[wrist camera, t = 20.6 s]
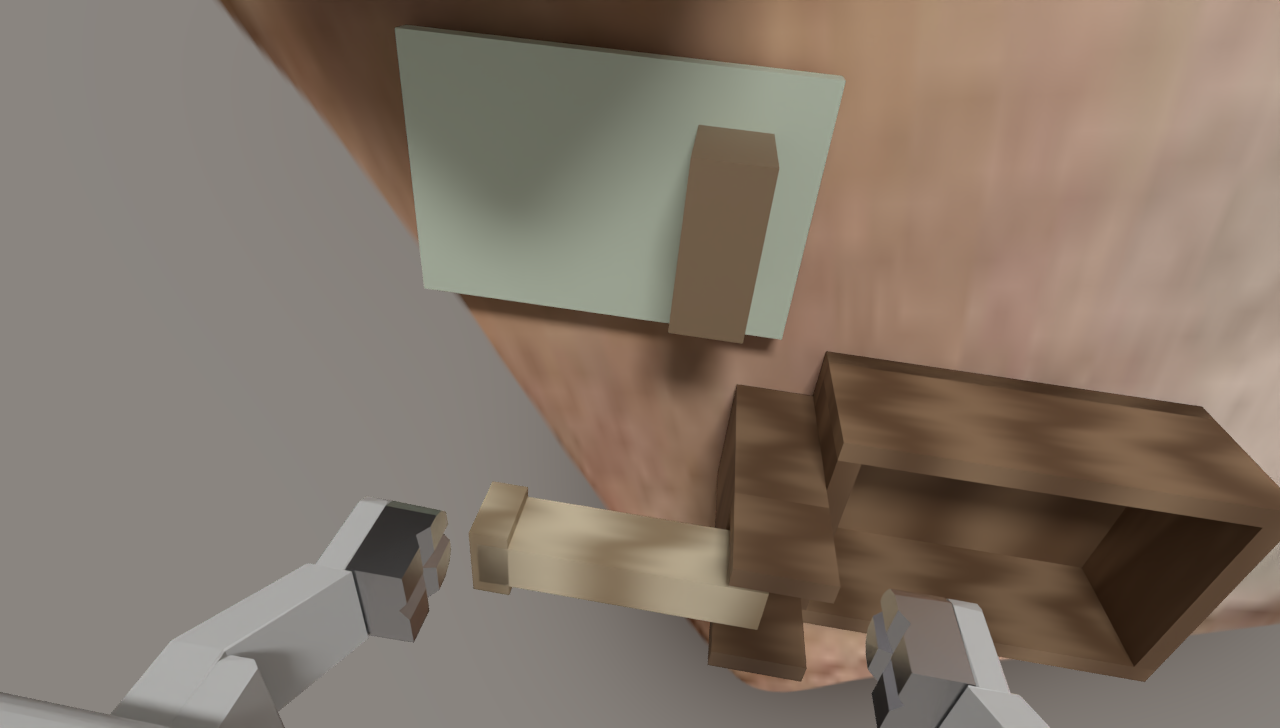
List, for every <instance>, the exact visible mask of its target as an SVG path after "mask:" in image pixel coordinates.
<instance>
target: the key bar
mask: <svg viewBox="0 0 1280 728" xmlns="http://www.w3.org/2000/svg"><path fill="white" fill-rule="evenodd" d="M469 541H470V553H471V564H472V574H473V575H472V576H473V586H474V587H473V588H474V589H478V590H483V591H490V592H495V593H500V594H507V595H509V594H510V591H511V588H512V587H515V588H521V589H527V590H532V591H538V592H544V593H550V594H556V595H561V596H567V597H573V598H578V599H584V600H590V601H595V602H601V603H607V604H612V605H618V606H624V607H629V608H635V609H641V610H646V611H652V612H658V613H663V614H669V615H675V616H681V617H686V618H692V619H698V620H703V621H709V622H715V623H720V624H726V625H732V626H737V627H743V628H749V629H755V630H757V629H758V626H759V623H760V620H761V617H762V614H763V611H764V608H765V605H766V602H767V598H768V595H769V592H763V591H757V590H751V589H745V588H740V587H734V586H729V552H730V530H724V529H718V528H712V527H706V526H700V525H694V524H688V523H682V522H676V521H670V520H664V519H658V518H652V517H646V516H640V515H634V514H628V513H622V512H616V511H610V510H604V509H598V508H592V507H586V506H580V505H574V504H568V503H562V502H556V501H550V500H544V499H538V498H532V497H528V487H523V486H517V485H511V484H505V483H499V482H492V484H491V486H490V488H489V490H488V493H487V495H486V497H485V499H484V501H483V503H482V506H481V508H480V510H479V512H478V514H477V516H476V518H475V521H474V523H473V525H472V527H471V529H470V531H469Z"/></svg>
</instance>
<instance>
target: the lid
mask: <svg viewBox="0 0 1280 728" xmlns="http://www.w3.org/2000/svg"><path fill="white" fill-rule="evenodd" d="M395 36H396V45H397V53H398V62H399V71H400V80H401V89H402V97H403V106H404V115H405V124H406V132H407V141H408V150H409V159H410V168H411V176H412V185H413V194H414V203H415V212H416V220H417V229H418V238H419V247H420V255H421V264H422V273H423V282H424V288H426V289H432V290H440V291H447V292H453V293H460V294H467V295H474V296H481V297H488V298H495V299H502V300H509V301H516V302H523V303H530V304H537V305H544V306H551V307H558V308H565V309H572V310H579V311H586V312H593V313H600V314H607V315H614V316H620V317H627V318H634V319H641V320H648V321H655V322H662V323H669V329H668V333H672V334H679V335H686V336H693V337H700V338H707V339H714V340H721V341H728V342H735V343H741V344H743V341H744V336H745V334H746V335H753V336H760V337H767V338H774V339H781V340H782V336H783V332H784V328H785V324H786V320H787V316H788V312H789V308H790V304H791V300H792V296H793V292H794V288H795V284H796V280H797V276H798V272H799V268H800V264H801V260H802V256H803V251H804V247H805V243H806V239H807V235H808V231H809V227H810V223H811V219H812V215H813V211H814V207H815V203H816V199H817V195H818V191H819V187H820V183H821V179H822V175H823V171H824V167H825V163H826V158H827V154H828V150H829V146H830V142H831V138H832V134H833V130H834V126H835V122H836V118H837V114H838V110H839V106H840V102H841V98H842V94H843V90H844V86H845V82H846V81H845V79H844V78H843V76H839V75H830V74H822V73H813V72H805V71H796V70H788V69H779V68H771V67H762V66H754V65H745V64H737V63H728V62H720V61H711V60H703V59H694V58H686V57H677V56H669V55H660V54H652V53H643V52H635V51H626V50H617V49H609V48H600V47H592V46H583V45H575V44H566V43H558V42H549V41H541V40H532V39H524V38H515V37H507V36H498V35H490V34H481V33H473V32H464V31H456V30H447V29H439V28H430V27H422V26H413V25H403V26H399V27H395Z"/></svg>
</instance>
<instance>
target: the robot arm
mask: <svg viewBox="0 0 1280 728" xmlns="http://www.w3.org/2000/svg"><path fill="white" fill-rule="evenodd" d="M447 525H448V521H447V516H446V512H445V511H440V510H436V509H431V508H426V507H421V506H416V505H411V504H407V503H401V502H396V501H391V500H386V499H380V498H375V497H370V496H366V497H365V498H363V499H362V500H361V501H360V502H358V503H357V505H356V507H355V508H354V509H353V511H352V512H351V514H350V515H349V516H348V518H347V519H346V521H345V522H344V524H343V525H342V526H341V528H340V529H339V531H338V532H337V534H336V535H335V536H334V538H333V539H332V541H331V542H330V544H329V545H328V547H327V548H326V549H325V551H324V552H323V554H322V555H321V556H320V558H319V559H318V561H317V562H316V564H309V563H307V564H305V565H303V566H301V567H300V568H298V569H296V570H294V571H293V572H291V573H289V574H287V575H286V576H284V577H282V578H280V579H279V580H277V581H275V582H273V583H272V584H270V585H268V586H266V587H265V588H263V589H261V590H259V591H257V592H256V593H254V594H252V595H251V596H249V597H247V598H245V599H243V600H242V601H240V602H238V603H236V604H235V605H233V606H231V607H229V608H228V609H226V610H224V611H222V612H221V613H219V614H217V615H215V616H214V617H212V618H210V619H208V620H206V621H205V622H203V623H201V624H199V625H198V626H196V627H194V628H193V629H191V630H189V631H187V632H185V633H184V634H182V635H180V636H178V637H177V638H175V639H173V640H172V641H170V643H169V644H168V645H167V646H166V648H165V649H164V650H163V651H162V652H161V654H160V655H159V656H158V657H157V658H156V660H155V661H154V662H153V663H152V665H151V666H150V667H149V668H148V670H147V671H146V672H145V673H144V674H143V675H142V677H141V678H140V679H139V680H138V681H137V683H136V684H135V685H134V686H133V687H132V689H131V690H130V691H129V692H128V694H127V695H126V696H125V697H124V698H123V700H122V701H121V702H120V703H119V705H118V706H117V707H116V708H115V709H114V710H113V712H112V713H111V714H110V715H109V714H104V713H99V712H94V711H89V710H84V709H80V708H74V707H70V706H65V705H60V704H55V703H51V702H46V701H41V700H36V699H32V698H27V697H22V696H17V695H12V694H7V693H3V692H0V728H285V727H284V725H283V722H282V720H281V718H280V716H279V713H278V711H280V710H281V709H282V708H283V707H284V706H286V705H287V704H288V703H289V702H291V701H292V700H293V699H294V698H295V697H297V696H298V695H299V694H300V693H301V692H303V691H304V690H305V689H307V688H308V687H309V686H310V685H311V684H313V683H314V682H315V681H316V680H317V679H319V678H320V677H321V676H322V675H324V674H325V673H326V672H327V671H329V670H330V669H331V668H332V667H333V666H335V665H336V664H337V663H338V662H340V661H341V660H342V659H343V658H345V657H346V656H347V655H348V654H349V653H351V652H352V651H353V650H354V649H356V648H357V647H358V646H359V645H361V644H362V643H363V642H364V641H365V640H366V639H368V635H371V636H377V637H383V638H389V639H395V640H401V641H408V642H414V641H415V639H416V637H417V635H418V633H419V631H420V628H421V627H422V624H423V623H424V620H425V618H426V616H427V614H428V612H429V605H428V597H429V596H431V595H432V594H434V593H435V592H437V591H438V590H439V589H440V587H441V585H442V582H443V580H444V578H445V575H446V572H447V568H448V565H449V561H450V552H451V548H450V540H449V539H448V538H447V537H446V536H445V534H443V533H444V531H445V529H446V527H447ZM880 602H881V608H882V612H880V613H878V614H876V615H874V616H873V617H872V619H871V622H870V624H869V626H868V630H867V637H866V659H867V667H868V670H869V671H870V673H871V674H872V675H873V676H874V678H875V679H876V680H877V681H878V682H877V684H876V686H875V688H874V690H873V692H872V699H873V705H874V711H875V717H876V724H877V728H1050V727H1049V726H1048V725H1047V724H1046V723H1045V722H1044V721H1043V719H1041V717H1040V716H1039V715H1038V714H1037V713H1036V712H1035V711H1034V710H1033V709H1032V708H1031V707H1030V706H1029V705H1028V703H1027V702H1026V701H1025V700H1024V699H1023V698H1022V697H1021V696H1020V695H1017V694H1013V693H1010V690H1009V687H1008V684H1007V681H1006V678H1005V676H1004V672H1003V670H1002V667H1001V664H1000V661H999V658H998V655H997V652H996V649H995V646H994V643H993V640H992V638H991V635H990V632H989V629H988V626H987V623H986V620H985V617H984V614H983V611H982V609H981V608H980V607H979V606H978V604H975V603H970V602H964V601H958V600H953V599H945V598H944V597H938V596H932V595H926V594H920V593H914V592H908V591H902V590H895V589H888V590H887V591H885V593H884V594H883V596H882V598H881V600H880Z"/></svg>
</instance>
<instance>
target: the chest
mask: <svg viewBox="0 0 1280 728" xmlns="http://www.w3.org/2000/svg"><path fill="white" fill-rule="evenodd" d="M715 528H718V529H724V530H730V552H729V586H734V587H740V588H745V589H751V590H757V591H763V592H769V595H768V598H767V602H766V605H765V608H764V611H763V614H762V617H761V620H760V623H759V626H758V629H757V630H755V629H749V628H743V627H737V626H732V625H726V624H720V623H715V622H710V632H709V651H708V665H712V666H717V667H723V668H728V669H734V670H739V671H745V672H751V673H756V674H762V675H767V676H773V677H778V678H784V679H790V680H795V681H801V680H802V678H803V676H804V673H805V671H806V669H807V668H806V656H805V644H804V631H803V622H804V623H810V624H815V625H821V626H827V627H833V628H838V629H844V630H850V631H856V632H861V633H867V630H868V626H869V624H870V622H871V619H872V617H873V616H874V615H876V614H878V613H880V612H882V608H881V602H880V600H881V598H882V596H883V594H884V593H885V591H887V590H888V589H895V590H902V591H908V592H914V593H920V594H926V595H932V596H938V597H944V598H945V599H953V600H958V601H964V602H970V603H975V604H978V606H979V607H980V608H981V609H982V611H983V614H984V617H985V620H986V623H987V626H988V629H989V632H990V635H991V638H992V640H993V643H994V646H995V649H996V652H997V655H998V656H999V657H1005V658H1011V659H1016V660H1022V661H1028V662H1034V663H1039V664H1045V665H1051V666H1057V667H1063V668H1068V669H1074V670H1080V671H1086V672H1091V673H1097V674H1103V675H1109V676H1115V677H1120V678H1126V679H1131V680H1137V681H1143V682H1145V681H1146V680H1147V679H1148V678H1149V677H1150V676H1151V675H1152V674H1153V673H1154V671H1156V669H1157V668H1158V667H1159V666H1160V665H1161V664H1162V663H1163V662H1164V661H1165V660H1166V659H1167V658H1168V657H1169V656H1170V655H1171V654H1172V653H1173V652H1174V651H1175V649H1177V648H1178V647H1179V646H1180V645H1181V643H1182V642H1183V641H1184V640H1185V639H1186V638H1187V637H1188V636H1189V635H1190V634H1191V633H1192V632H1193V631H1194V630H1195V629H1196V628H1197V627H1198V626H1199V625H1200V624H1201V623H1202V622H1203V621H1204V620H1205V619H1206V618H1207V617H1208V615H1209V614H1210V613H1211V612H1212V611H1213V610H1214V609H1215V608H1216V607H1217V606H1218V605H1219V604H1220V603H1221V602H1222V601H1223V600H1224V599H1225V598H1226V597H1227V596H1228V595H1229V594H1230V593H1231V592H1232V591H1233V589H1234V588H1235V587H1236V586H1237V585H1238V584H1239V583H1240V582H1241V581H1242V580H1243V579H1244V578H1245V577H1246V576H1247V575H1248V574H1249V573H1250V572H1251V571H1252V570H1253V569H1254V568H1255V567H1256V566H1257V565H1258V563H1259V562H1260V561H1261V560H1262V559H1263V558H1264V557H1265V556H1266V555H1267V554H1268V553H1269V552H1270V551H1271V550H1272V549H1273V548H1274V547H1275V546H1276V545H1277V544H1278V543H1279V542H1280V487H1279V486H1278V485H1277V484H1276V483H1275V482H1274V481H1273V480H1272V479H1271V478H1270V477H1269V476H1268V475H1267V474H1266V473H1265V472H1264V471H1263V470H1262V469H1261V468H1260V467H1259V466H1258V464H1257V463H1256V462H1255V461H1254V460H1253V459H1252V458H1251V457H1250V456H1249V455H1248V454H1247V453H1246V452H1245V451H1244V450H1243V449H1242V448H1241V447H1240V446H1239V445H1238V444H1237V443H1236V442H1235V441H1234V439H1233V438H1232V437H1231V436H1230V435H1229V434H1228V433H1227V432H1226V431H1225V430H1224V429H1223V428H1222V427H1221V426H1220V425H1219V424H1218V423H1217V422H1216V421H1215V420H1214V419H1213V418H1212V417H1211V416H1210V414H1209V413H1208V412H1207V411H1206V410H1205V409H1204V408H1203V407H1200V406H1193V405H1186V404H1179V403H1172V402H1166V401H1159V400H1152V399H1145V398H1139V397H1132V396H1125V395H1118V394H1111V393H1105V392H1098V391H1091V390H1084V389H1078V388H1071V387H1064V386H1057V385H1051V384H1044V383H1037V382H1030V381H1023V380H1017V379H1010V378H1003V377H996V376H990V375H983V374H976V373H969V372H963V371H956V370H949V369H942V368H935V367H929V366H922V365H915V364H908V363H902V362H895V361H888V360H881V359H874V358H868V357H861V356H854V355H847V354H841V353H834V352H826V355H825V358H824V362H823V365H822V368H821V372H820V375H819V378H818V382H817V385H816V388H815V392H814V395H813V396H810V395H803V394H797V393H790V392H783V391H777V390H770V389H764V388H757V387H751V386H744V385H737V387H736V391H735V396H734V401H733V405H732V410H731V414H730V419H729V424H728V428H727V433H726V438H725V442H724V447H723V452H722V456H721V461H720V466H719V470H718V481H717V500H716V519H715Z"/></svg>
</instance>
